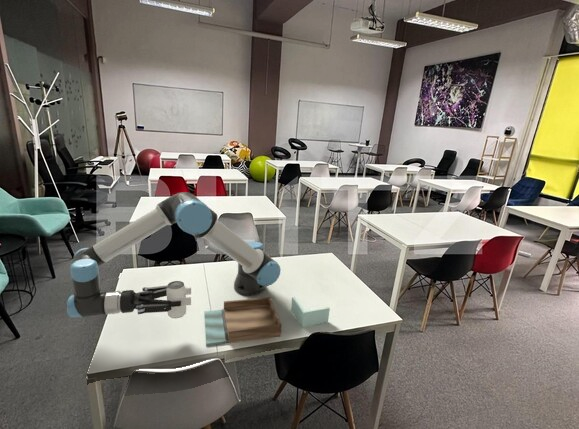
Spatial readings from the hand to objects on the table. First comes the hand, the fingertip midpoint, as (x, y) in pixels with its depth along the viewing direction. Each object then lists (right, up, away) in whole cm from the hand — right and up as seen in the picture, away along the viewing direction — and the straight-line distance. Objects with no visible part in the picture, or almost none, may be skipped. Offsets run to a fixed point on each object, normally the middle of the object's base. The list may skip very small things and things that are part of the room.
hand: (190, 295), depth 117 cm
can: (-5, -7, +1) cm, 9 cm away
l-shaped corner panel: (+44, -15, +21) cm, 51 cm away
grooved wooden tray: (+17, -15, +12) cm, 25 cm away
